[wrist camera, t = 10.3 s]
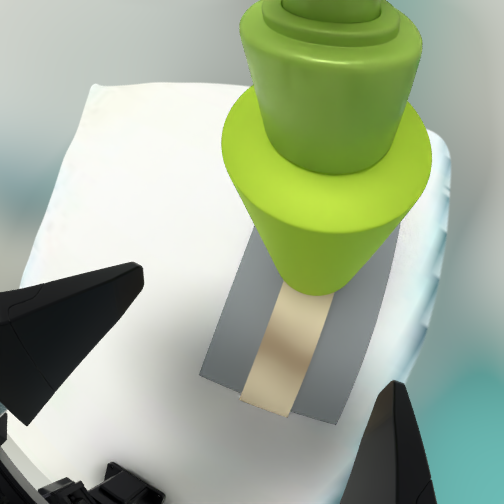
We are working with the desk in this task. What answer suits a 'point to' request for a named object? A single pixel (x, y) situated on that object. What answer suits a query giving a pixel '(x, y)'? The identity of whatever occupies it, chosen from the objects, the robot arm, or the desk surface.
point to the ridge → (286, 350)
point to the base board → (330, 341)
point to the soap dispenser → (327, 134)
